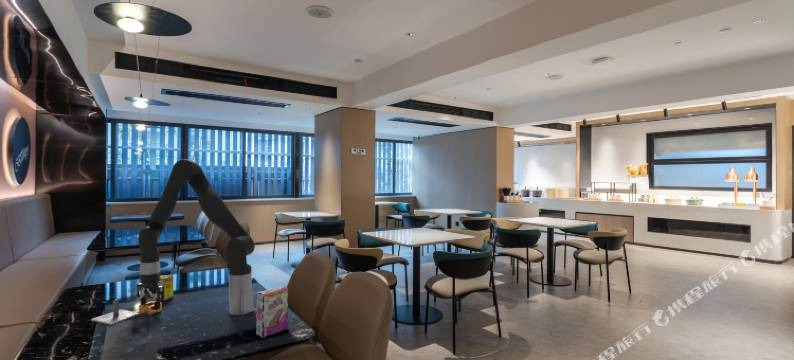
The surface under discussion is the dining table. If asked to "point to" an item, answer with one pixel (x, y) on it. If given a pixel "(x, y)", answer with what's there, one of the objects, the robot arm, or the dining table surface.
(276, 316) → the candy bar box
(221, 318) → the dining table surface
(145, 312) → the link
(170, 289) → the supplement box
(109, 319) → the keeper
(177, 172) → the robot arm
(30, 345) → the dining table surface
